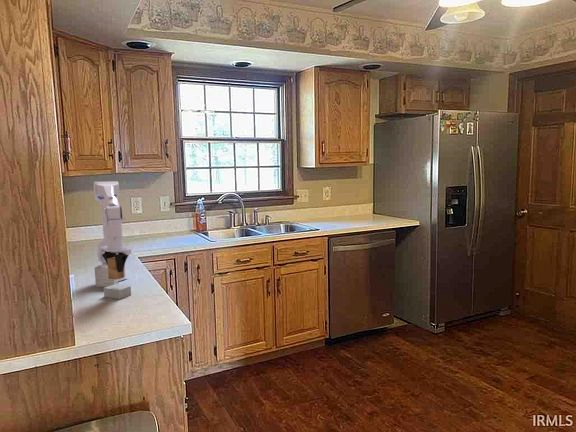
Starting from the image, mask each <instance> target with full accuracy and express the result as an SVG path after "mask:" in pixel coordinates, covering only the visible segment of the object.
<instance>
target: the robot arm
mask: <svg viewBox="0 0 576 432" xmlns="http://www.w3.org/2000/svg"><path fill="white" fill-rule="evenodd" d="M119 184H120V183H119V181H117V180H115V181H94V182H93V194H94V200H95V201H96V202H98V203H99V204H100V207H101V221H102V234H103V239H102V240H101V241H99V242H98V244H97V249H96V251H97V252H96V253H97V261H99V262H101V265H108V261H107V258H111V257H115V259H116V262H117V269H118V272H122V271H123V270H124V277H123V278H120V279H118V282H121V281H124V280H128V277H127V276H126V262H127V259H128V257H129V255H131V254H132V249H131V248H128V247H125V246H124V245H123V242H124V241H123V239H124V238H123V226H122V225H123V224H122V221H123V219H124V218H123V217H124V212H123V208H122V205H120V203H119V200H118V198H119V195H120V186H119Z"/></svg>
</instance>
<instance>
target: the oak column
mask: <svg viewBox="0 0 576 432" xmlns="http://www.w3.org/2000/svg"><path fill="white" fill-rule="evenodd" d="M107 261H108V279H115V280H117V279H120V278H123V277H124V270H123V271H122V272H118V269H117V262H116V259H115V257H111V258H107Z"/></svg>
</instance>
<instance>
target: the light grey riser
mask: <svg viewBox="0 0 576 432" xmlns="http://www.w3.org/2000/svg"><path fill="white" fill-rule="evenodd" d="M131 295H132V289H131V285H127V284H126V285H125V284H119V283H118V284H114V285H111V286H108V287H103V297H105V298H110V299H117V300H121V299H124V298H126V297H128V296H131Z"/></svg>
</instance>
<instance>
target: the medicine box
mask: <svg viewBox="0 0 576 432" xmlns="http://www.w3.org/2000/svg"><path fill="white" fill-rule="evenodd" d="M94 277H95V281H94V282H95V288H105V287H108V286H111V285H114V284H119V281H118V279H117V280H115V279H108V265H102V264H101V265H100V264H99V265H97V266H95V267H94Z"/></svg>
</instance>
